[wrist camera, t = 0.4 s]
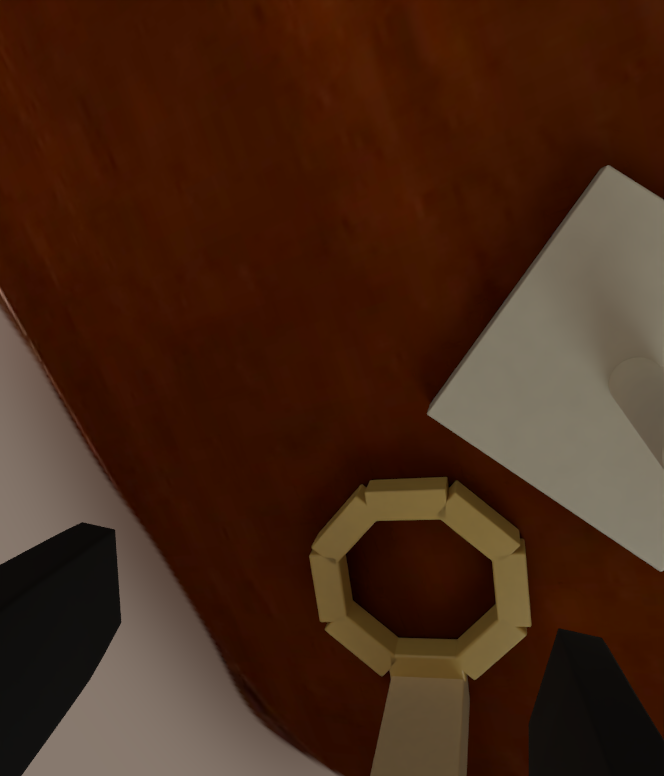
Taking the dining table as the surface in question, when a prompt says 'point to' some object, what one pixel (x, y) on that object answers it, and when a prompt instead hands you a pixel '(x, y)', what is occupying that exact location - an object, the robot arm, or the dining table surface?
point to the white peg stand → (580, 368)
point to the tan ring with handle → (423, 655)
